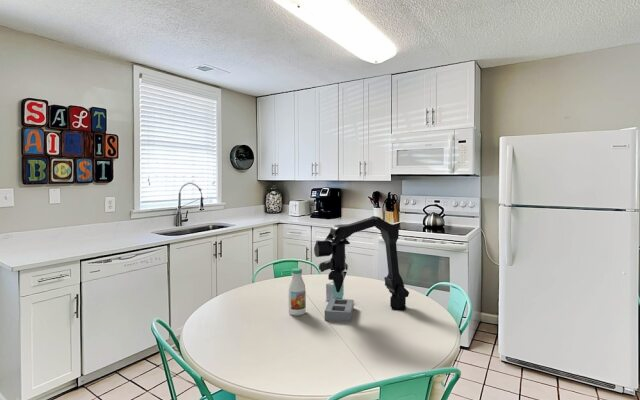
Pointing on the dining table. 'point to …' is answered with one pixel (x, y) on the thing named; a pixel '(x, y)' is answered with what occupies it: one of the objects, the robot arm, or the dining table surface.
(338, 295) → the plug
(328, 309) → the socket plate
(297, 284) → the milk bottle
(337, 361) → the dining table surface
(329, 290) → the medicine box
